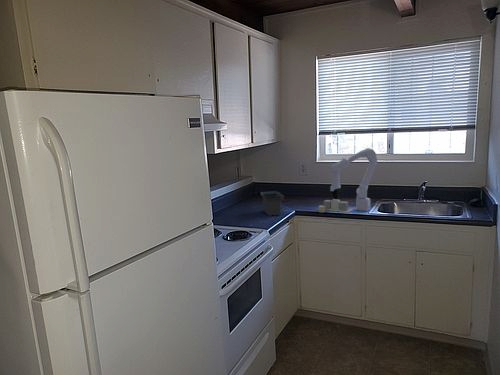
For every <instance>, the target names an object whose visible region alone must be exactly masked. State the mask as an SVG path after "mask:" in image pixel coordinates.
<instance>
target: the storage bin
mask: <svg viewBox="0 0 500 375" xmlns="http://www.w3.org/2000/svg"><path fill="white" fill-rule="evenodd" d="M260 196H261V197H262V202H263V204H262V205H263V211H264V212H265V213H266V214H267V216H270V217H271V216H272V215H273V216H280V215H281V205H282V201H284V200H285V196H284V195H283V194H282V193H281V192H279V191H275V190H273V191H261V192H260ZM273 216H272V217H273Z"/></svg>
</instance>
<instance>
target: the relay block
mask: <svg viewBox="0 0 500 375" xmlns="http://www.w3.org/2000/svg"><path fill="white" fill-rule="evenodd" d="M317 209H318V213H325V212H326V210H325V206H324V205H318V208H317Z"/></svg>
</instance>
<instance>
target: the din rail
mask: <svg viewBox="0 0 500 375" xmlns="http://www.w3.org/2000/svg"><path fill="white" fill-rule="evenodd" d="M331 200H332V199H326V200H323V205H322V206H325V211H328V210H329V211H330V212H337V211H339V212H338V213H347V212H349V213H351V212H352V211H353V210H354V209H352V208H349V201H341V200H340V202H339V209H331ZM329 211H328V212H329Z"/></svg>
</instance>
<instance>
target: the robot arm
mask: <svg viewBox="0 0 500 375" xmlns="http://www.w3.org/2000/svg"><path fill="white" fill-rule="evenodd" d="M360 158H366V159H367V160H368V165H367V168H366V170H365V173H364V175H363V179H362V180H361V182H360V184H359V186H358V188H356V191H355V193H356V197H355V199H356V200H355V204H356V206H355V208H354V209H353V210H355V211H360V212H361V211H362V212H368V211H370V210H371V209H372V208H371V198H370V197H368V189H369V184H370V182H371V180H372V177H373V174H374V172H375V170H376V167H377V165H378V158H377V152H376V151H375V150H374V149H373V148H369V147H366V148H365V149H362V150H360V151H359V152H357V153H355V154H353V155H352V156H350V157H348V158H346V157H345V158H344V157H343V158H341V159H342V160H340V161H336V162H335V163H333V164H332V165H331V167H330V169H331V186H329V191H330V192H331V193H332V196H333V199H336V200H339V199H338V198H339V194H340V192H341V189H342V188H341V187H342V185H341V182H340V181H341V179H340V178H341V176H340V171H341V170H343V169H346V167H349V166H350V163H352V162H355V161H357V160H358V159H360Z"/></svg>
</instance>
